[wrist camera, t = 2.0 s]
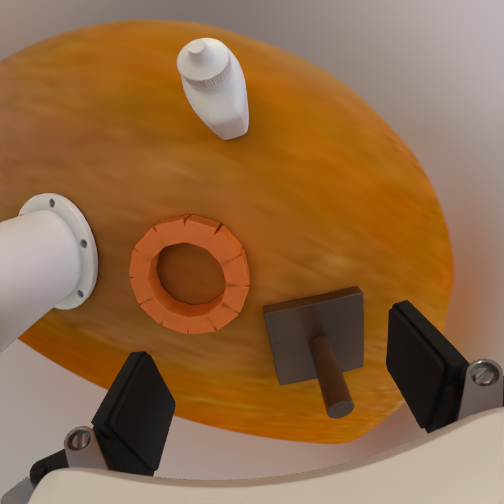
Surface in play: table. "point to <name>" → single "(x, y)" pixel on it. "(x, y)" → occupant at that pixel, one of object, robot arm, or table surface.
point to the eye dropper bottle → (215, 86)
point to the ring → (175, 311)
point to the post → (319, 343)
